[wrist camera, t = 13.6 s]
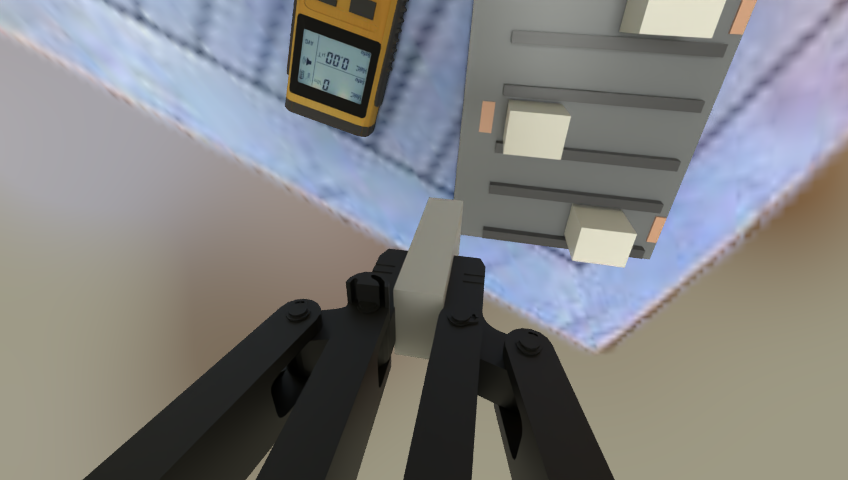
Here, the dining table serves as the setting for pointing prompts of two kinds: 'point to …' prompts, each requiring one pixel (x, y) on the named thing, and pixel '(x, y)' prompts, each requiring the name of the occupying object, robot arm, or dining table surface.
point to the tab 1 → (535, 129)
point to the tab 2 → (599, 235)
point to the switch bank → (584, 115)
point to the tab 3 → (672, 17)
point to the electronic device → (342, 60)
